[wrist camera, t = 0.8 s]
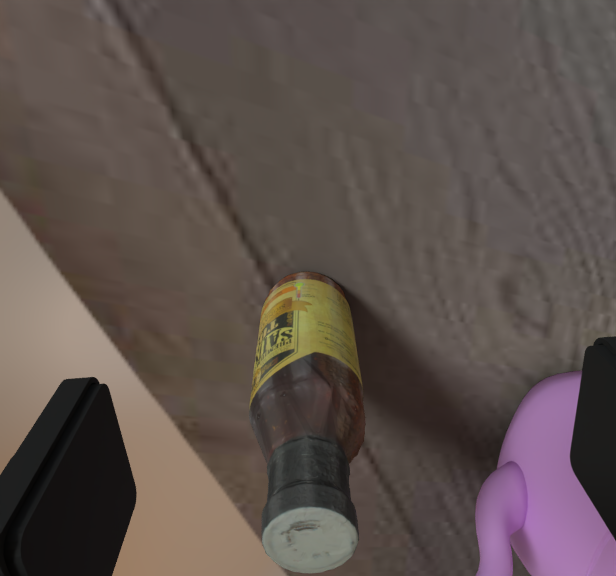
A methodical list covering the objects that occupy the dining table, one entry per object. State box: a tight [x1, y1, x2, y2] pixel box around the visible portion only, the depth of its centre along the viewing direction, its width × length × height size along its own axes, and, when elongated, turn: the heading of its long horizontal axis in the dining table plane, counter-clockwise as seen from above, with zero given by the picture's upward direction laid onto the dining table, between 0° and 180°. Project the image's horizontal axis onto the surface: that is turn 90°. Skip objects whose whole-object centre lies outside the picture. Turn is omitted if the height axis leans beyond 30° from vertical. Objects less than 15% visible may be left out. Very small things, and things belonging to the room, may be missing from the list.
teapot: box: [475, 371, 616, 576], centre depth 39 cm, size 23×21×15 cm
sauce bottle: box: [249, 272, 366, 573], centre depth 32 cm, size 7×6×20 cm
